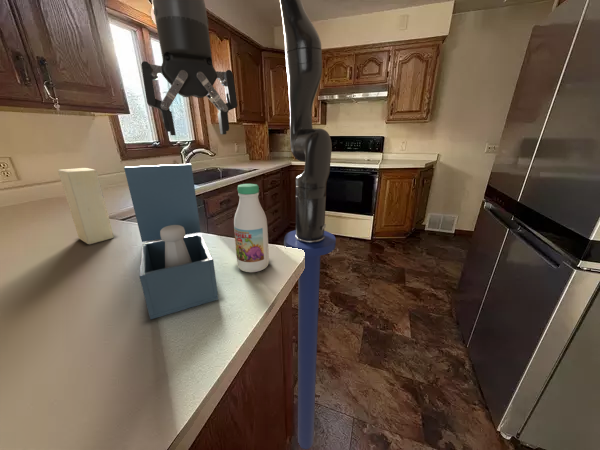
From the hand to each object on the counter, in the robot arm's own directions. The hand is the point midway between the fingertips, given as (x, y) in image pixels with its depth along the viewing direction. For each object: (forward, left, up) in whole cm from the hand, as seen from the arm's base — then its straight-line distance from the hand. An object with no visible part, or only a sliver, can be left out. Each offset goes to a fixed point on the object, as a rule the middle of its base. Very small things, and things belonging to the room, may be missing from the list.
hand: (199, 134), depth 44 cm
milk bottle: (-7, +6, -31) cm, 32 cm away
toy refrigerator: (-21, -46, -31) cm, 59 cm away
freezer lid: (-2, -10, -13) cm, 17 cm away
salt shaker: (+3, -6, -30) cm, 31 cm away
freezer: (+4, -6, -30) cm, 31 cm away
